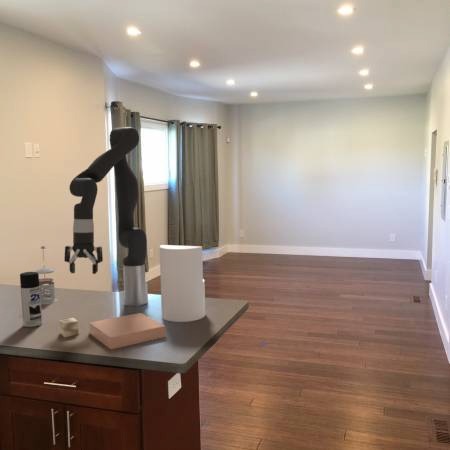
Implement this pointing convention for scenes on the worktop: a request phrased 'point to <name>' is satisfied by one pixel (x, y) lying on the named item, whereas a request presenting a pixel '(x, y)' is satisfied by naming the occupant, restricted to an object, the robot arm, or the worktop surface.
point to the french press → (46, 297)
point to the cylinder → (182, 283)
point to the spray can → (30, 299)
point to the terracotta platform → (126, 330)
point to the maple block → (69, 327)
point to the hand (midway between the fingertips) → (83, 273)
